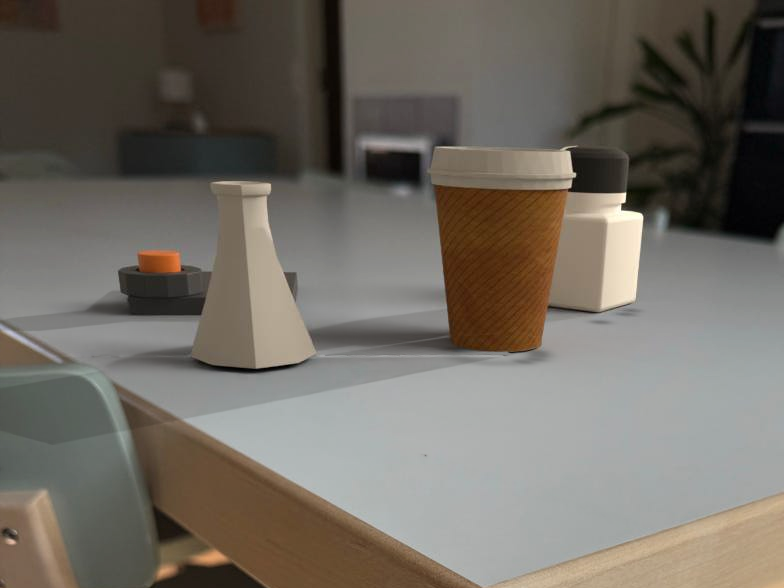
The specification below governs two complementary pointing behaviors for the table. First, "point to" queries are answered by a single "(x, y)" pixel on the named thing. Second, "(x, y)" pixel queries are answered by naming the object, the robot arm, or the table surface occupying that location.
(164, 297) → the scale
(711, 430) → the table surface
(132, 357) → the table surface
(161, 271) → the button
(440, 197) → the disposable coffee cup
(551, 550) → the table surface
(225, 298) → the flask
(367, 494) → the table surface
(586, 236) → the medicine bottle
